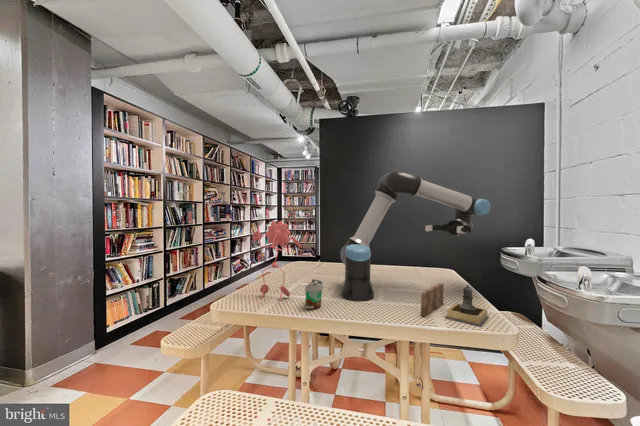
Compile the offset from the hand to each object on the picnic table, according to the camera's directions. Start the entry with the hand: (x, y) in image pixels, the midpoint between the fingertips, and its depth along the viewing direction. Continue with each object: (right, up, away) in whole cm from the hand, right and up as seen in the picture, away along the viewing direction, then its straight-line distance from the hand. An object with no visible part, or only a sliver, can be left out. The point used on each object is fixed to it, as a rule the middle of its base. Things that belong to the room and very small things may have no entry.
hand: (441, 229), depth 130 cm
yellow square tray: (+1, -32, -20) cm, 38 cm away
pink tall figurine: (-73, -32, +6) cm, 80 cm away
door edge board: (-8, -32, -11) cm, 35 cm away
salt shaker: (+1, -32, -20) cm, 38 cm away
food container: (-56, -32, -9) cm, 65 cm away
